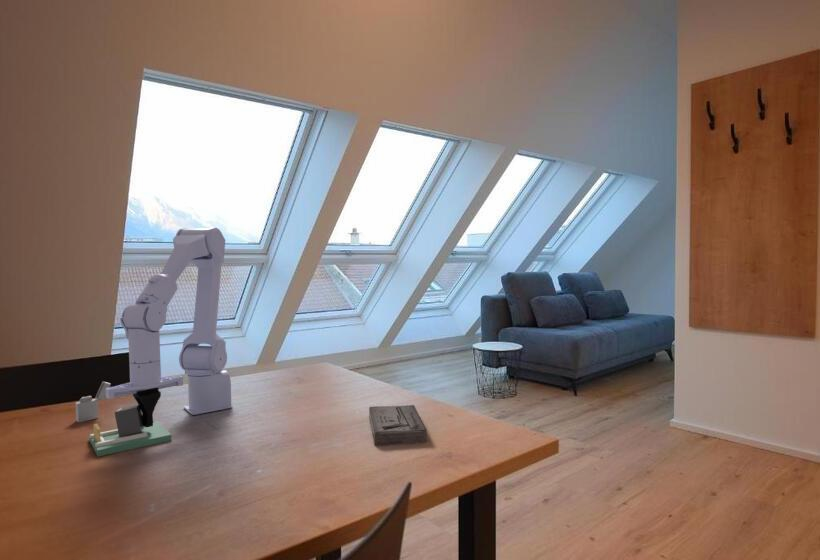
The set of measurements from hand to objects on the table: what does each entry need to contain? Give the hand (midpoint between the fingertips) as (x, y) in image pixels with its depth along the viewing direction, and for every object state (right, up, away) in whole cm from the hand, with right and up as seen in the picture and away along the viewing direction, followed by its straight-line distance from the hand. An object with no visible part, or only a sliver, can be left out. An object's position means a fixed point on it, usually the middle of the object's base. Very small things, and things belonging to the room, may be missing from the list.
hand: (147, 425), depth 107 cm
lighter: (-19, -2, +13) cm, 23 cm away
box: (+52, -2, +3) cm, 52 cm away
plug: (-2, -1, -2) cm, 3 cm away
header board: (-3, -2, -2) cm, 4 cm away
